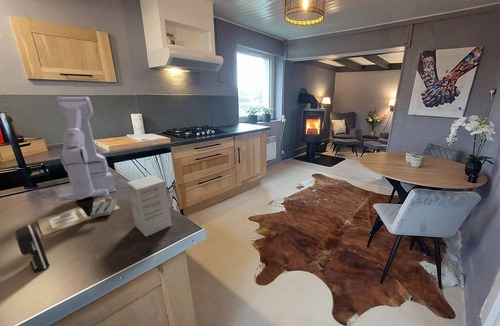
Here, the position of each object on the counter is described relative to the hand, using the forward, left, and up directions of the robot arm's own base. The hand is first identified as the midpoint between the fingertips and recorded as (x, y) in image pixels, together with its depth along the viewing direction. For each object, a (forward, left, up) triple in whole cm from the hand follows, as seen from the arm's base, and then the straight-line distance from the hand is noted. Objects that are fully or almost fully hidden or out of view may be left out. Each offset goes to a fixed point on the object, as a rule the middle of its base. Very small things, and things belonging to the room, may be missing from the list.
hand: (90, 215), depth 79 cm
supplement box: (-13, +23, -2) cm, 26 cm away
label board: (+2, -6, -1) cm, 7 cm away
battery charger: (+16, +17, -2) cm, 23 cm away
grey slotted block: (-6, -2, -1) cm, 6 cm away
